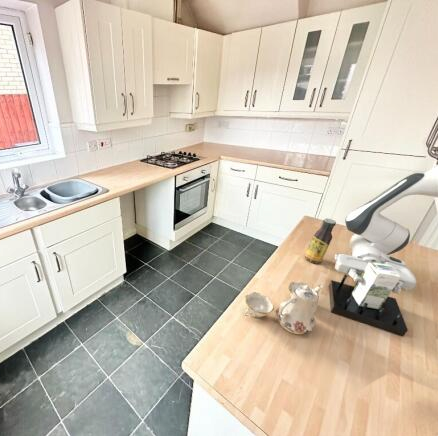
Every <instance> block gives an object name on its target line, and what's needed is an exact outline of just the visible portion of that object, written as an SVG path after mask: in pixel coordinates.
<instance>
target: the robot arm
mask: <svg viewBox="0 0 438 436" xmlns="http://www.w3.org/2000/svg"><path fill="white" fill-rule="evenodd" d="M416 195H417V196H427V197H433V198H438V165H436V166H435V167H432V168H431V169H430V170H426V171H424V172H413V173H412V174H409V175H408V176H406V177H404V178H402V179H400V180H399V181H397V182H396V183H395V184H393V185H391V186H390V187H389V188H387V189H385V190H384V191H382V192H381V193H379V194H378V195H377V196H375V197H374V198H372V199H370V200H369V201H368V202H366V203H364V204H363V205H361V206H359V207H357V208H355V209H354V210H353V211H351V212H350V213H349V214H348V215H347V216H346V218H345V220H344V221H345V227H346V229H347V230H348V232H351V233H353V235H352V236H351V237H350V240H349V252H350V254H345V253H335V254H334V255H333V259H334V260H335V264H334V269H335V270H336V271H337V272H339V273H343V274H346V275H348V276H349V277H350V278H352V279H353V282H355V283H357V282H358V283H360V281H361V280H362V278H361V276H362V274H363V272H364V270H365V269H366V267H367V265H368V263H369V262H372V263H380V264H387V265H391V266H392V267H393V268H394V269H395V270H396V271H397V272H398V274H399V275H400V277H401V278H400V279H399V281H398V282H397V284H396V285H395V287H394V288H393V290H392V291H391V293H395V294H398V295H399V294H400V293H401V291H402V290H405V291H412V290H413V289H414V288H415V287H416V285H417V283H418V281H417V278H416V276H415V275H414V274H413V272H412V270H410V269H409V268H408V267H406V266H407V263H406V262H405V261H404V260H401V259H398V258H395V257H393V256H391V255H393V254H396V253H398V252H400V251H402V250H403V249H404V248H405V247H407V245H408V244H409V241H410V237H411V233H410V232H411V231H410V230H409V229H408V228H407V227H404V226H403V225H401V224H400V223H398V222H396V221H394V220H392V219H389V218H388V217H386V216H385V215H382V214H381V212H383V211H384V210H386V209H388V208H389V207H391V206H392V205H393V204H395V203H397V202H398V201H399V200H401V199H403V198H405V197H408V196H416Z"/></svg>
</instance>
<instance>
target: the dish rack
mask: <svg viewBox="0 0 438 436" xmlns="http://www.w3.org/2000/svg"><path fill="white" fill-rule="evenodd" d="M347 277H348V274H346V273H344V275H343V277H342V278H341V281H337V280H332V279H331V280H330V282H329V284H328V293H329V306H330V313H331V314H334V315H337V316H340V317H343V318H346V319H349V320H352V321H355V322H358V323H361V324H364V325H367V326H370V327H373V328H376V329H379V330H381V331H384V332H387V333H391V334H393V335H397V336H399V337H404V336H405V335H406V333H407V332H408V331H409V329H408V326H407V324H406V322H405V319H404V316H403V313H402V312H401V309H400V307H399V304H398V301H397V298H395V297H393V296H392V297H391V296H388V297H387V299H386V300H385V302H384V303H383V305H382V306H381V308H380V309H373V308H368V307H367V305H368V304H367V303H364V305H363V307H362V306H359V305H358V303H357V302H356V300H355V299H354V297H353V295H352V292H353V290H354V288H355V287H356V285H357V283H358V282H355V284H354V286H353V285H350V284H347V283H345V281H346V279H347Z"/></svg>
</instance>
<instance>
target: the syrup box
mask: <svg viewBox="0 0 438 436" xmlns="http://www.w3.org/2000/svg"><path fill="white" fill-rule="evenodd" d="M361 278H362V280H361V281H360V283H357V282H356V283H357V285H356V287H355V288H354V290H353V292H352V295H353V297H354V299H355V300H356V302H357V303H358V305H359V306H362V307H363V305H364V303H367V304H368V305H367V307H368V308H373V309H380V308H381V306H382V305H383V303H384V302H385V300H386V299H387V297H390V294H391V293H392V290H393V288H394V287H395V285H396V284H397V282H398V281H399V279H400V278H401V277H400V275H399V274H398V272H397V271H396V270H395V269H394V268H393V267H392V266H391V265H387V264H380V263H372V262H369V263H368V265H367V267H366V269H365V270H364V272H363V274H362V276H361Z"/></svg>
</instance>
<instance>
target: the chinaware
mask: <svg viewBox="0 0 438 436" xmlns="http://www.w3.org/2000/svg"><path fill="white" fill-rule="evenodd" d="M287 289H288V292H289V295H290V298H288V299H287V300H286V301H282V302H281V303H280V304H279V305H278V308H277V309H276V310H275V307H274V305H273V303H272V300H271V299H270V297H268V296H267V295H262V294H261V293H259V292H256V291H254V292H251V293H249V294H246V295H245V296H244V300H245V301H244V302H245V304H246V309H245V311H244V314H243V315H244V316H245V317H248V316H250V317H253V318H259V319H261V318H263V317H265V316H267V315H268V314H269V313H272V311H274V310H275V311H274V312H275V316H277V321H278V324H279V325H280V327H281V328H282V329H284V330H285V331H286V332H288V333H290V334H293V335H295V336H296V335H297V336H303V335H305V334H308V333H311V332H312V331H313V328H314V326H315V325H316V319H315V317H314V313H315V312H316V311H317V308H318V305H319V304H318V303H319V298H320V297H319V293H320V291H321V290H322V289H323V286H322V285H317V286H316V287H315V288H311V286H309V285H308V284H307V283H305V282H298V283H297V282H295V281H291V282H290V283H289V285H288V288H287ZM247 312H249V313H247Z"/></svg>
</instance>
